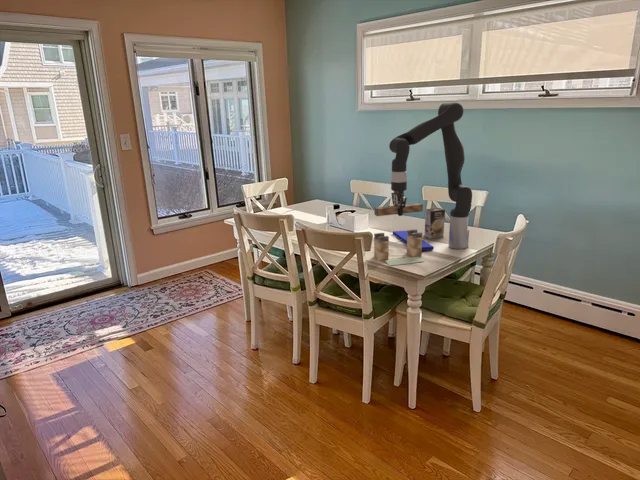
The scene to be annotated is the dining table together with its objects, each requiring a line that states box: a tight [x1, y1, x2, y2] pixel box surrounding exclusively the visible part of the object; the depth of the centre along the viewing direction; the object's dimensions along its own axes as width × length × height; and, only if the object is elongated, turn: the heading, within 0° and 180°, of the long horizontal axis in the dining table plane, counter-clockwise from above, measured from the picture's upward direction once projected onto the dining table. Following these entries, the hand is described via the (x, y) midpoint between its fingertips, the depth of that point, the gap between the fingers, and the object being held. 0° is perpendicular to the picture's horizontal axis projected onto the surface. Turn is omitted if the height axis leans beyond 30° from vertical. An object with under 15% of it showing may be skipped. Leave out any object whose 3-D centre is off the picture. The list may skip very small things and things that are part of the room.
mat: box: [384, 256, 425, 267], centre depth 220 cm, size 18×7×1 cm, turn 103°
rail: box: [373, 202, 424, 217], centre depth 220 cm, size 24×4×4 cm, turn 103°
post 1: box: [373, 232, 390, 262], centre depth 224 cm, size 5×7×12 cm
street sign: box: [392, 230, 435, 251], centre depth 250 cm, size 34×3×10 cm
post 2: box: [406, 229, 423, 257], centre depth 227 cm, size 5×7×12 cm
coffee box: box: [424, 207, 446, 239], centre depth 255 cm, size 9×6×16 cm
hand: (398, 214), depth 221 cm, fingers closed on rail, 3 cm apart
